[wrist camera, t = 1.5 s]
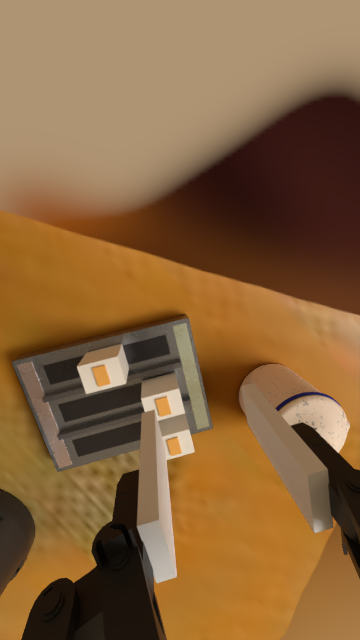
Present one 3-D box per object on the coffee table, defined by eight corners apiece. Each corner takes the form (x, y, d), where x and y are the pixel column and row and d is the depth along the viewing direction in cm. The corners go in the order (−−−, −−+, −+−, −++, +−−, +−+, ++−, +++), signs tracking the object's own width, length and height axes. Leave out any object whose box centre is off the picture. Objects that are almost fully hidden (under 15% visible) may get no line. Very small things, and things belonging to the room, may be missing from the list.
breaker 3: (158, 437, 32) (159, 463, 28) (152, 417, 31) (153, 440, 27) (189, 429, 32) (195, 453, 28) (184, 408, 31) (189, 430, 27)
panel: (62, 459, 33) (55, 477, 31) (20, 355, 30) (7, 364, 27) (209, 419, 35) (214, 432, 32) (186, 314, 31) (189, 319, 28)
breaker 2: (148, 403, 31) (148, 424, 26) (141, 380, 30) (140, 399, 26) (180, 394, 31) (185, 414, 27) (175, 372, 30) (179, 389, 26)
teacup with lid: (228, 417, 35) (267, 492, 24) (245, 356, 33) (295, 404, 22) (306, 426, 37) (376, 499, 26) (326, 369, 35) (410, 419, 24)
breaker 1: (94, 376, 29) (85, 395, 25) (86, 352, 28) (76, 367, 24) (129, 367, 29) (125, 384, 25) (121, 343, 29) (117, 357, 24)
